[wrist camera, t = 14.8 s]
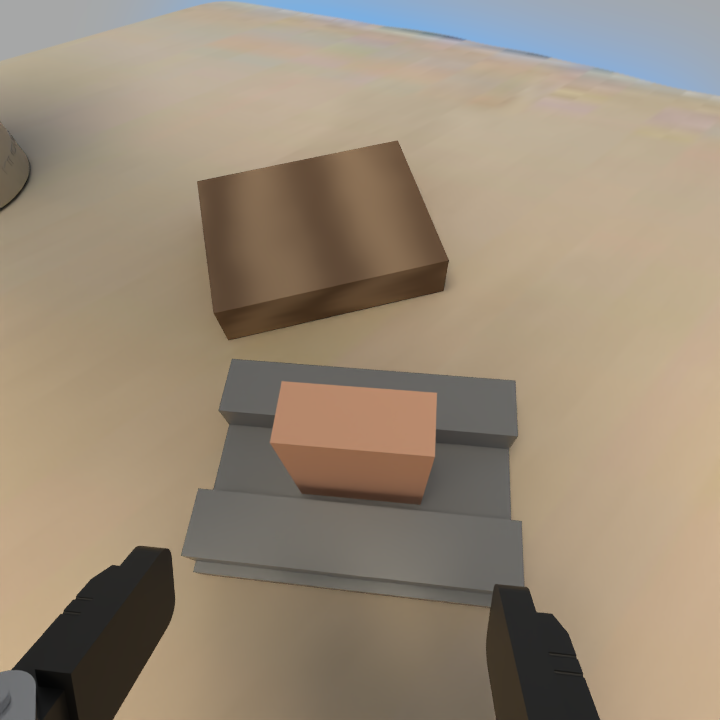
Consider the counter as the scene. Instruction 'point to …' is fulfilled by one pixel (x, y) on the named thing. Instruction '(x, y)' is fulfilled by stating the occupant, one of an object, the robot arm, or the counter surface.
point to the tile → (356, 440)
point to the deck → (317, 239)
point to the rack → (358, 516)
